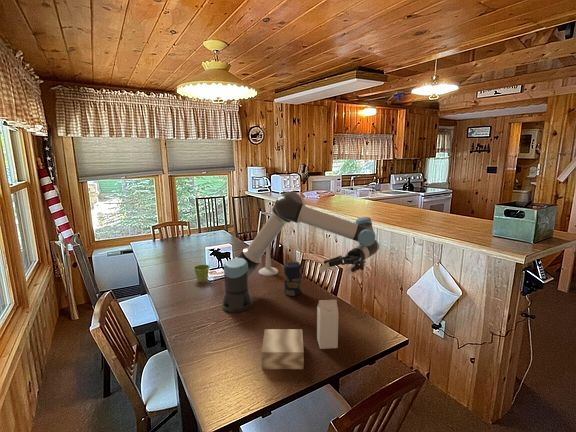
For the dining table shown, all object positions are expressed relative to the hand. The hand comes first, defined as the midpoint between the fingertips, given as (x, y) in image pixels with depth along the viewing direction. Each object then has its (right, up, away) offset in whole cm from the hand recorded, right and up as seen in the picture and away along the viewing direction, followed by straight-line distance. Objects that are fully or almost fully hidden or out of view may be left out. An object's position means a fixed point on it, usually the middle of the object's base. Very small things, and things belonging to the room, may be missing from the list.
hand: (332, 271), depth 136 cm
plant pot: (-71, -16, +58) cm, 93 cm away
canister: (-16, -19, +40) cm, 47 cm away
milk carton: (-3, -28, -7) cm, 29 cm away
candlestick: (-32, -13, +72) cm, 80 cm away
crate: (-21, -30, -14) cm, 39 cm away
